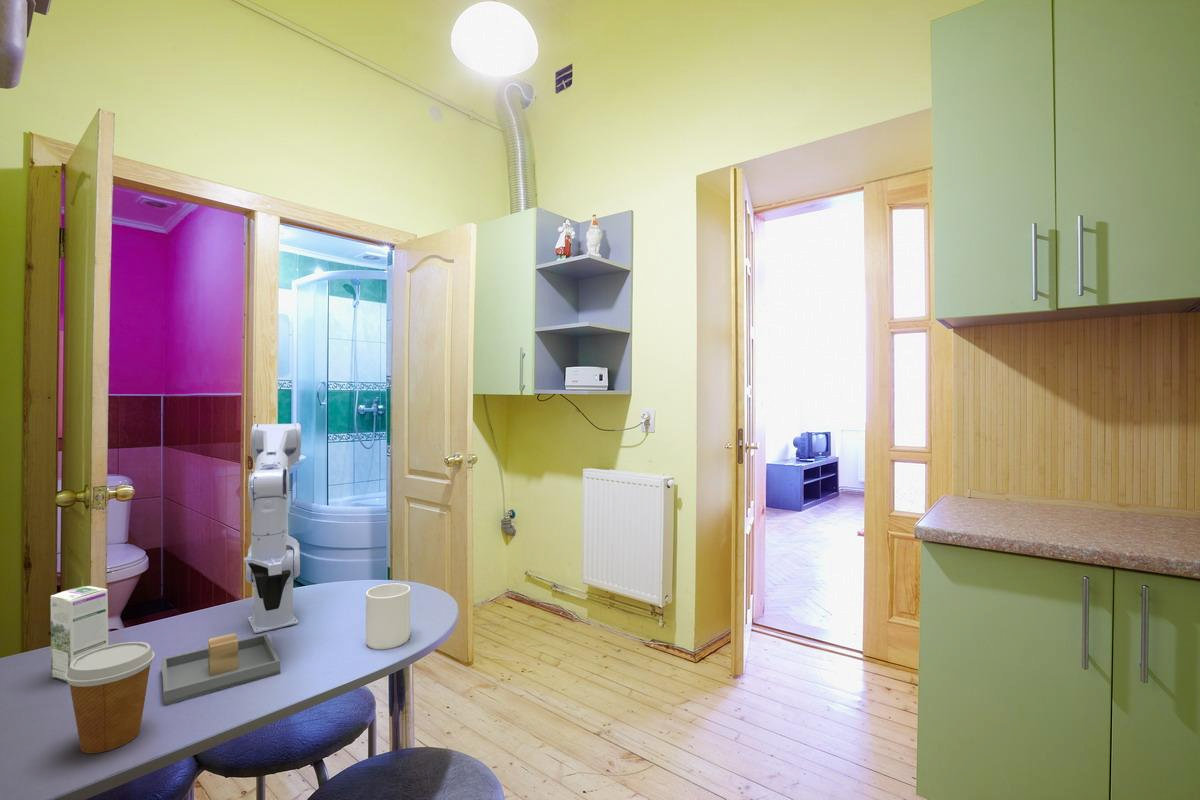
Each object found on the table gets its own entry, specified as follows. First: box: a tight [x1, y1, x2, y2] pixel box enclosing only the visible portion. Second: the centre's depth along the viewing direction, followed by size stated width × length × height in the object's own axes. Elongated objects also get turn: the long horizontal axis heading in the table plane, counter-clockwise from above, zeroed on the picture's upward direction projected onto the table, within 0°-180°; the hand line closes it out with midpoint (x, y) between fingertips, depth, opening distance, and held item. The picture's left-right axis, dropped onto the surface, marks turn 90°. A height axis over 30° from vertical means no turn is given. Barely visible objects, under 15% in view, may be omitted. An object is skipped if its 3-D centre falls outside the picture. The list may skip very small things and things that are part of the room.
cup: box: [365, 582, 411, 650], centre depth 111 cm, size 8×12×10 cm
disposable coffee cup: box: [65, 641, 156, 754], centre depth 77 cm, size 10×10×12 cm
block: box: [207, 632, 239, 676], centre depth 96 cm, size 4×4×5 cm
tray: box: [161, 633, 281, 706], centre depth 96 cm, size 14×16×2 cm
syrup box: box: [50, 585, 109, 682], centre depth 96 cm, size 6×6×14 cm
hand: (268, 603), depth 104 cm, fingers open, 7 cm apart
